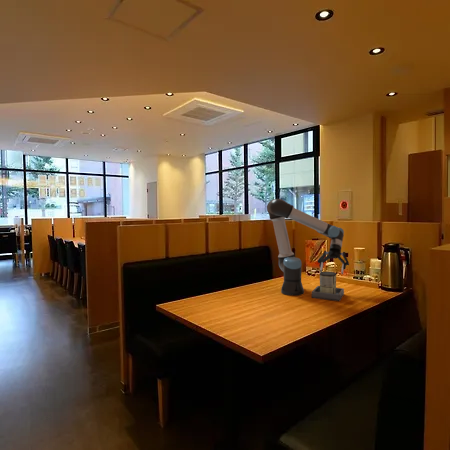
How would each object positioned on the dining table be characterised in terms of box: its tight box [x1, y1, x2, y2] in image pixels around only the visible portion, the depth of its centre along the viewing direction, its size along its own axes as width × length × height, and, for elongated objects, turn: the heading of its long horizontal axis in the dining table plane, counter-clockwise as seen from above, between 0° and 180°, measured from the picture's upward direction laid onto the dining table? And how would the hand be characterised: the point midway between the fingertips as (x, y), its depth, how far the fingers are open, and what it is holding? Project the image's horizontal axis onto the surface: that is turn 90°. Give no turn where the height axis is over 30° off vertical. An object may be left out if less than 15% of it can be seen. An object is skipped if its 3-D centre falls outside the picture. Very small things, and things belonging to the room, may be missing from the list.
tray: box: [311, 285, 345, 302], centre depth 206 cm, size 17×17×4 cm
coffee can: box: [319, 271, 337, 294], centre depth 205 cm, size 10×10×14 cm
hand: (331, 272), depth 210 cm, fingers open, 13 cm apart
